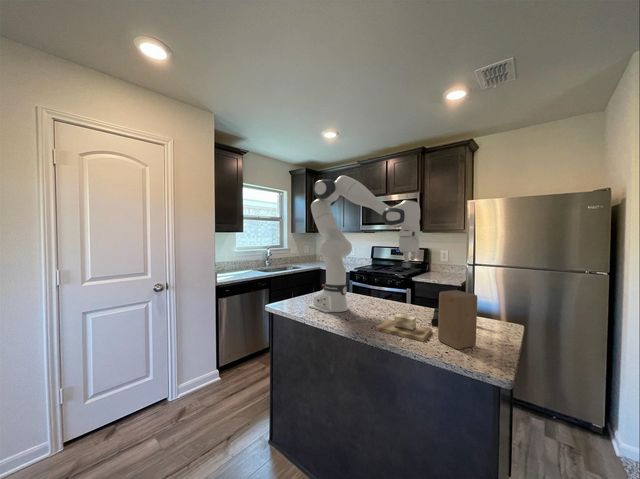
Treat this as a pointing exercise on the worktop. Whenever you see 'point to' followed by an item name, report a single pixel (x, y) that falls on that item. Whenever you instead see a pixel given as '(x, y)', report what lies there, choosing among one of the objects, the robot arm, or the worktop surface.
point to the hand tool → (435, 317)
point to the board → (404, 331)
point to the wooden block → (457, 319)
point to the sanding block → (405, 322)
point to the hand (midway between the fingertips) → (409, 260)
